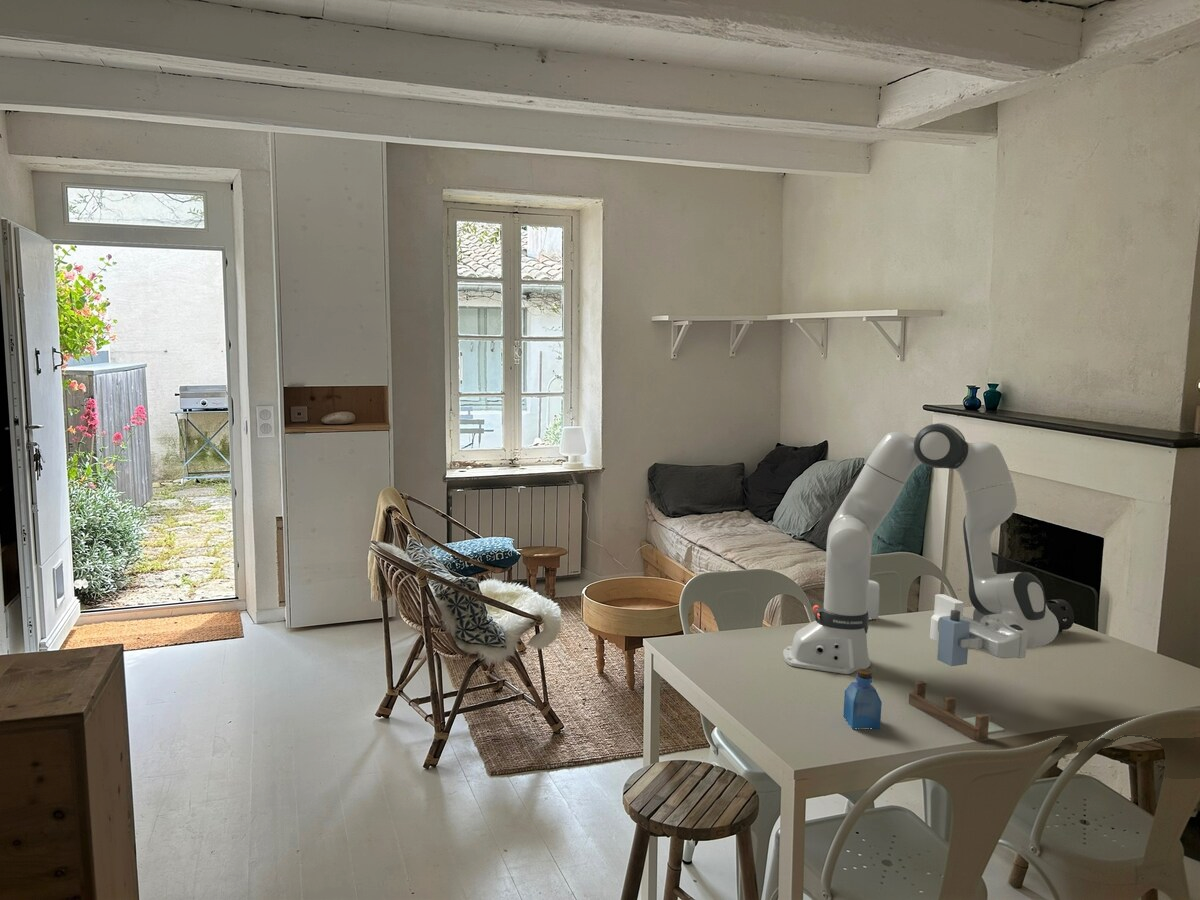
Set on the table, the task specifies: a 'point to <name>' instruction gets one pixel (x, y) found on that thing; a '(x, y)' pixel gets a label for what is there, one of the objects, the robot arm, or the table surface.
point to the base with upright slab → (943, 612)
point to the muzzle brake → (1054, 608)
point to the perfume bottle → (862, 702)
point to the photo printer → (873, 599)
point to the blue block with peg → (952, 639)
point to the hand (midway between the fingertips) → (950, 638)
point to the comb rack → (952, 714)
